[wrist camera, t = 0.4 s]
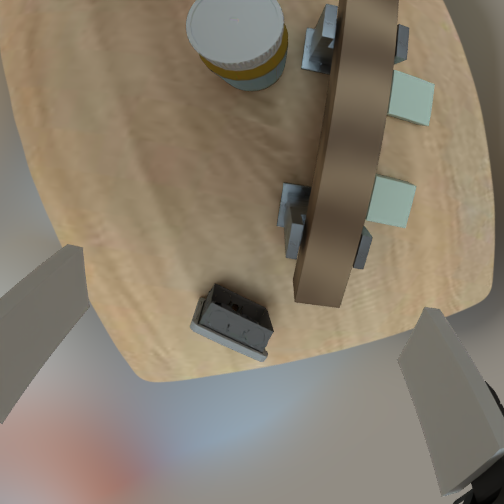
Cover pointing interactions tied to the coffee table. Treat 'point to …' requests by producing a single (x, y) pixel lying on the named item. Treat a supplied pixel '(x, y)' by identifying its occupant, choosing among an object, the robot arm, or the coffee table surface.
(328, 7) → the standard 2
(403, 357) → the robot arm
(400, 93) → the blocks
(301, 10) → the coffee table surface
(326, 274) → the rail
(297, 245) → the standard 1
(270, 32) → the bottle
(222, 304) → the electrical switch
